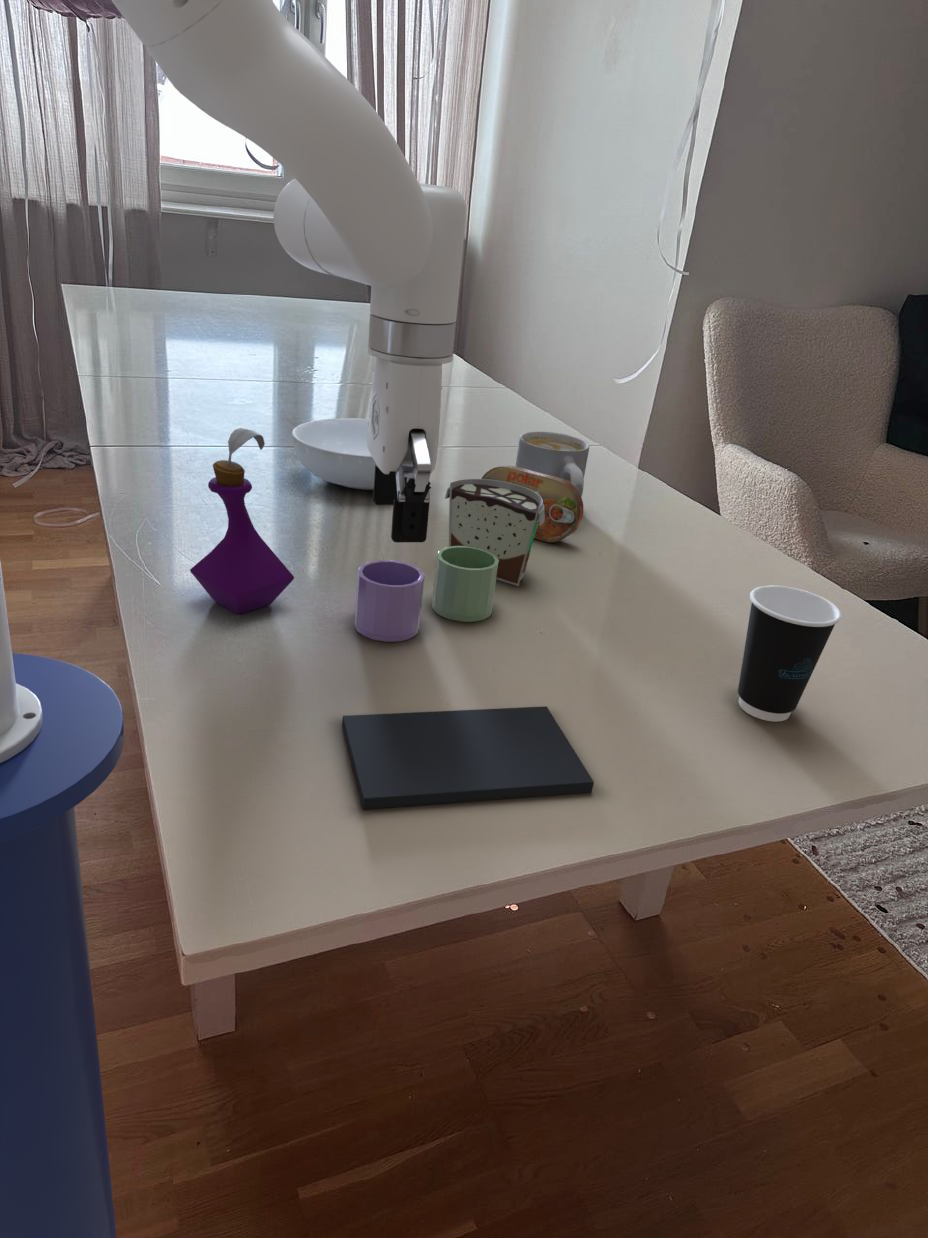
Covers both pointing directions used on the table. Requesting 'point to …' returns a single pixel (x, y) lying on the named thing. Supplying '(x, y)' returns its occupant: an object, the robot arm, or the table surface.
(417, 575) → the lavender cup
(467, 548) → the sage cup
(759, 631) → the dixie cup
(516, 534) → the food container
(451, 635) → the table surface
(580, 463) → the coffee mug
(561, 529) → the tin
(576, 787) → the placemat
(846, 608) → the table surface
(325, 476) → the serving bowl
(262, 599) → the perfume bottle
